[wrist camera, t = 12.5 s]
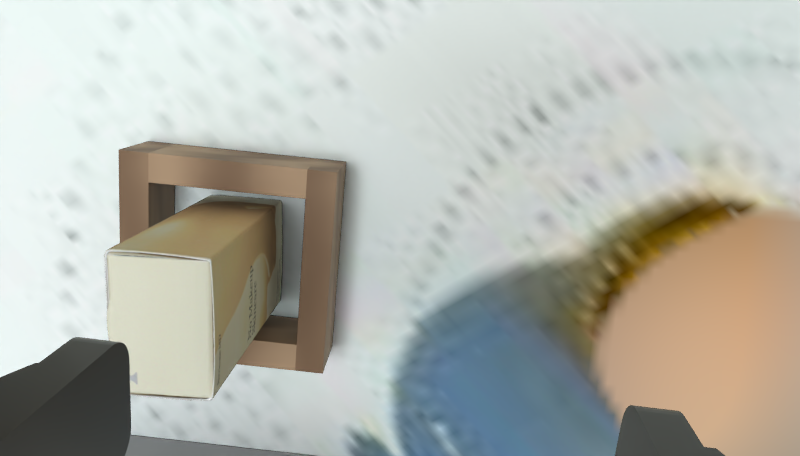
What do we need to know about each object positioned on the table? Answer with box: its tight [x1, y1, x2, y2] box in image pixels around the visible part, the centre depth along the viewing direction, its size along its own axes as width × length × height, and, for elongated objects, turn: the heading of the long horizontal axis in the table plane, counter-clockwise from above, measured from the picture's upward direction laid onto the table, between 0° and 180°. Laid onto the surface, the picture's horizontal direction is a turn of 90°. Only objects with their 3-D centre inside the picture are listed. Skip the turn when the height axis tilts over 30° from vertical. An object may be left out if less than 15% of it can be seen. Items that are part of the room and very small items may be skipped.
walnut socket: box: [119, 141, 346, 373], centre depth 36 cm, size 11×11×4 cm
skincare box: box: [104, 195, 282, 400], centre depth 31 cm, size 6×4×12 cm
